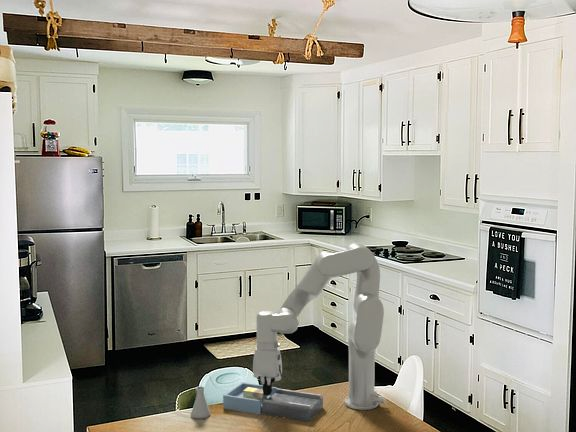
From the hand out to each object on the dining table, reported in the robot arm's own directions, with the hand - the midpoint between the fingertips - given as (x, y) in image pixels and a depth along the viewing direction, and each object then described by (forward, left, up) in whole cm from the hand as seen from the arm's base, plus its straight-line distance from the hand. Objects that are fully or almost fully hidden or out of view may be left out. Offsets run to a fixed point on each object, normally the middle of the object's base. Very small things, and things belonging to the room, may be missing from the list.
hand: (267, 394), depth 225 cm
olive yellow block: (+7, -1, -2) cm, 8 cm away
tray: (+7, 0, -5) cm, 8 cm away
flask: (+19, +16, -5) cm, 25 cm away
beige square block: (+3, 0, -2) cm, 4 cm away
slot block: (-10, 0, -5) cm, 11 cm away
